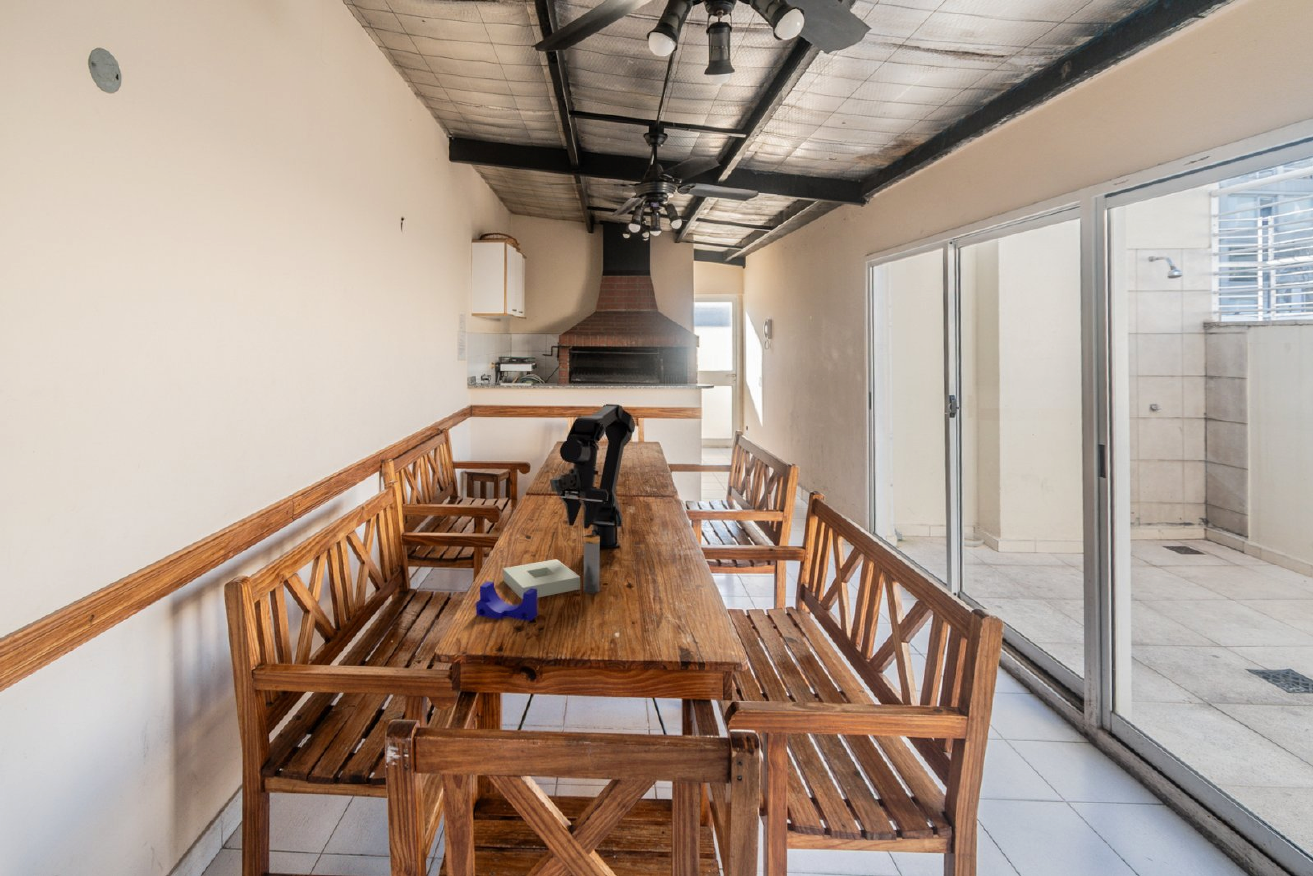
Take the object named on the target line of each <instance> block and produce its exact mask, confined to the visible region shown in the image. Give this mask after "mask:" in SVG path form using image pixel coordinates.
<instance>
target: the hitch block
mask: <svg viewBox="0 0 1313 876" xmlns="http://www.w3.org/2000/svg"><path fill="white" fill-rule="evenodd" d="M502 581H503V582H505V584H506V585H507V586H508V587H509V588H510V589H511V590H512V591H513V592H514V593H515V594H516V595H517V596H518V597H519V598H520V599H521V600H523V594H524V593H525V592H526V591H527V590H529V589H530V588H533V589H537V599H538V598H542V597H547V596H553V595H556V594H562V593H567V592H572V591H577V590H581V576H580V575H578V574H577V573H576V572H575V571H573V570H572V569H570V568H569V567H568V566H567V565H565V564H564V563H562V562H561V561H560V560H558V559H557V558H555V559H549V560H544V561H543V560H542V561H539V562H531V563H526V564H521V565H520V564H519V565H515V566H508V567H502Z"/></svg>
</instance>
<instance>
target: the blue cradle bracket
mask: <svg viewBox="0 0 1313 876" xmlns="http://www.w3.org/2000/svg"><path fill="white" fill-rule="evenodd" d="M521 600H522V599H521ZM475 608H476V609H475V611H476V613H475V614H476V616H481V617H485V618H491V619H497V620H502V619H504V618H505V617H506V618H512V619H517V620H523V621H529V622H530V621H532V620H533V619H534V618H536V617H537V616H538V598H537V589H533V588H530V589H529V590H527V591H526V592H525V593H524V594H523V600H522V601H521V602H520V604H516V605H515V604H514V605H513V604H509V603H507V602H505V601H504V600H503V599H502V598H501V597H500V596H499V595H498V593H497V591H496V588H495V582H493V581H486V582H484V583H483V584H481V585H479V599H478V601H476V603H475Z"/></svg>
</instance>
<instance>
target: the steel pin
mask: <svg viewBox="0 0 1313 876" xmlns="http://www.w3.org/2000/svg"><path fill="white" fill-rule="evenodd" d="M583 592H584V593H586V594H596V593H599V592H600V537H599V536H598V535H592V534H586V535H584V536H583Z"/></svg>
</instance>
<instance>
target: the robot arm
mask: <svg viewBox="0 0 1313 876" xmlns="http://www.w3.org/2000/svg"><path fill="white" fill-rule="evenodd" d="M570 427H571V428H570V430H569V432H568V434H567V436H566V440H565V441H564V442H563V443H562V444H561V446H560V448H559V455H560V457H561V459H562V460H563V461H564V462H567V463H569V464H573V468H570V469H569V470H568V472H567V473H565V474H560V476H557V477H553V478H550V479H549V484H550V489H551V493H552V492H556V496H557V497H558V499H559V500H560V501H561V502H562V503H563V504H564V506H565V511H566V516H567V522H568V526H574V525H575V522H576V520H577V518H578V515H579V512H580V510H581V507H582V508H583V528H584V529H586V530H587V529H589V528H590V527H591V526H592V527H593V528H592V530H591V535H598V536H599V537H600V549H599V551H600V550H601V551H602V550H607V549H613V548H617V547H618V548H619V547H621V543H618V528H619V527H622V526H623V514H622V512H621V510H620V508H619V505H620V503H619V500H618V498H617V496H616V491H617V485H618V479H619V476H620V470H621V469H620V468H621V465H622V460H623V459H622V458H623V454H624V448H625V447H626V446H627V444H628V443H630V441H631V440H632V436H633V433H634V432H635V428H636V423H635V420H634V418H633V415H632V414H630V413H629V412H628V411H626V410H624V408H623V406H622V405H621V404H618V403H617V404H614V403H606V404H603V406H602V407H601V408H600V409H599V410H597V411H595V412H594V413H592V414H591V415H583V416H577V417H576V418H575V420H574V421H573V423H572V425H571V426H570ZM604 435H605V436H606V439H607V441H608V443H607V447H606V452H605V458H604V464H603V468H602V473H601V477H600V481H599V482H600V483H599V486H598V488H597V486H595V481H596V480H595V479H596V476H599V471H598V470H596V468H597V459H598V451H600V447H599V445H598V443H599V442H600V441H601V439H602V437H604Z"/></svg>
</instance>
